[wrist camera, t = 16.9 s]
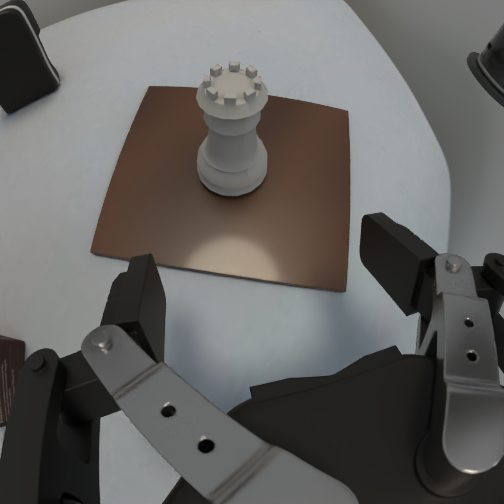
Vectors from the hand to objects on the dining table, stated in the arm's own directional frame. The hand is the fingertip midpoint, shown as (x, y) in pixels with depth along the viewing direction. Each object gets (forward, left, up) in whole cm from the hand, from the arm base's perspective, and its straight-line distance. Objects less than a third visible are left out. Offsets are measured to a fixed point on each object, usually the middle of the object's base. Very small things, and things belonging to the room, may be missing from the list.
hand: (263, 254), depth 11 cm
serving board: (+2, -7, -7) cm, 10 cm away
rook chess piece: (+2, -7, -7) cm, 10 cm away
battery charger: (+24, -15, -7) cm, 30 cm away
